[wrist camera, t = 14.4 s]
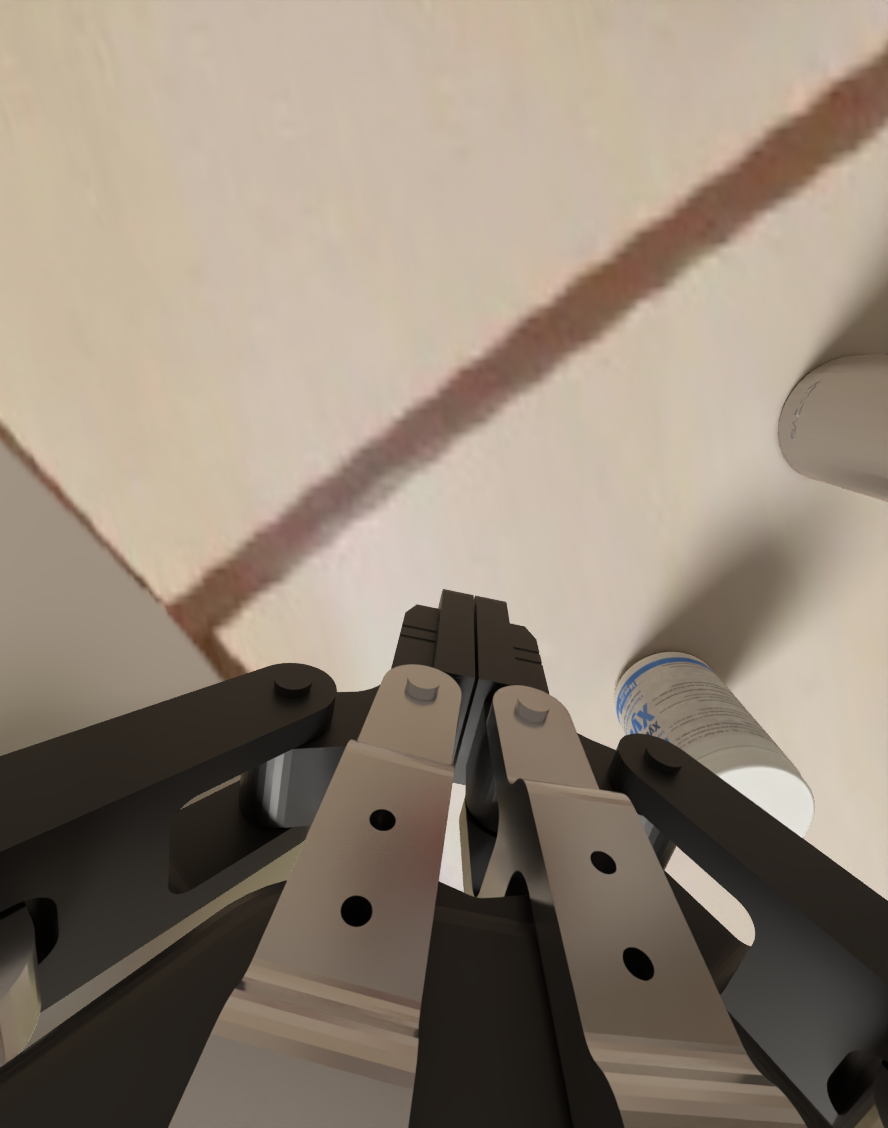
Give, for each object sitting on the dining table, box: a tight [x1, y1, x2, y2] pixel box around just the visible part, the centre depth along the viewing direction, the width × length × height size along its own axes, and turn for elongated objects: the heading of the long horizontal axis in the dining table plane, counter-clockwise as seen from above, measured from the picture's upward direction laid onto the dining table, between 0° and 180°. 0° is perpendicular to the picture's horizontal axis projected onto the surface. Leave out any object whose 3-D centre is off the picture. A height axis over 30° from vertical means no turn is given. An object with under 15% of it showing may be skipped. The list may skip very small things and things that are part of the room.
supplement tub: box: [614, 652, 815, 838], centre depth 42 cm, size 10×10×15 cm
